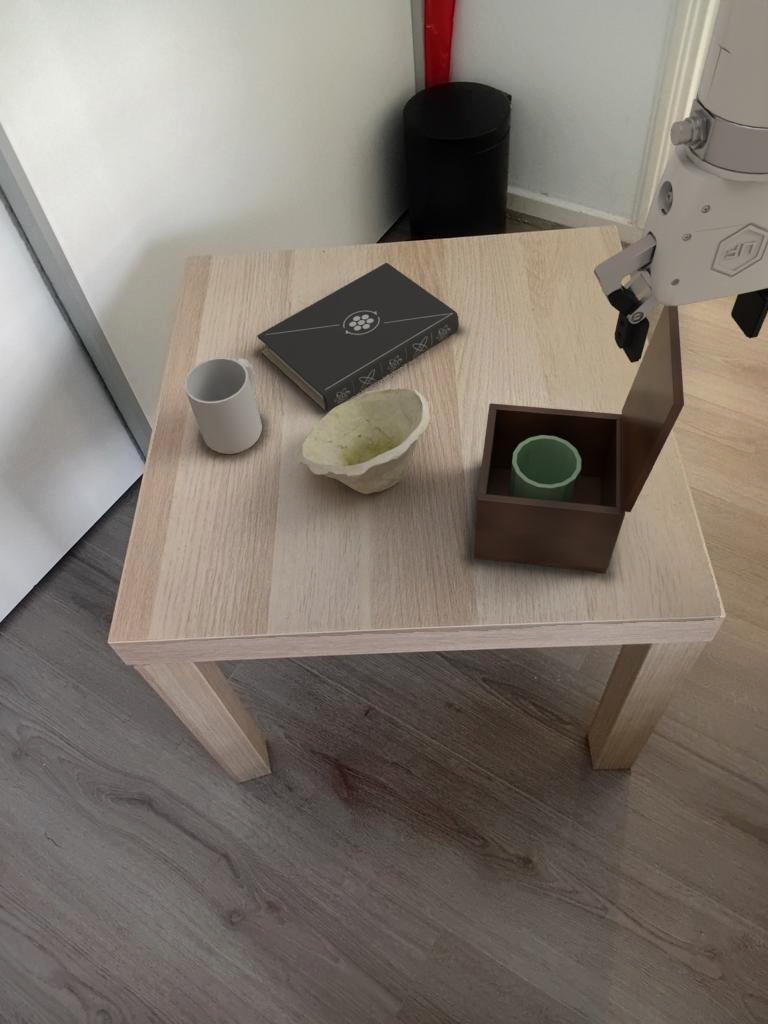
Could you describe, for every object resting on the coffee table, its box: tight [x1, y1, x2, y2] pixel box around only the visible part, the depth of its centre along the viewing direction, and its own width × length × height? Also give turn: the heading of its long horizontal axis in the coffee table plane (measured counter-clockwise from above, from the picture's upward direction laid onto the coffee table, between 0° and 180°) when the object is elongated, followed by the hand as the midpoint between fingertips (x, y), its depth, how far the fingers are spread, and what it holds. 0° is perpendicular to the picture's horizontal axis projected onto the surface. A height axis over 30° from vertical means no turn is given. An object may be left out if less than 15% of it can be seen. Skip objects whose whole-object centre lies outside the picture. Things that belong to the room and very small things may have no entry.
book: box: [256, 262, 460, 413], centre depth 101 cm, size 22×15×3 cm
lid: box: [621, 305, 685, 513], centre depth 69 cm, size 14×13×1 cm
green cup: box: [508, 435, 581, 503], centre depth 81 cm, size 7×7×8 cm
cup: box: [183, 357, 263, 455], centre depth 92 cm, size 7×10×9 cm
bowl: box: [297, 387, 432, 495], centre depth 86 cm, size 15×14×10 cm
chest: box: [473, 402, 626, 574], centre depth 80 cm, size 14×13×10 cm
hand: (685, 338), depth 62 cm, fingers open, 9 cm apart
